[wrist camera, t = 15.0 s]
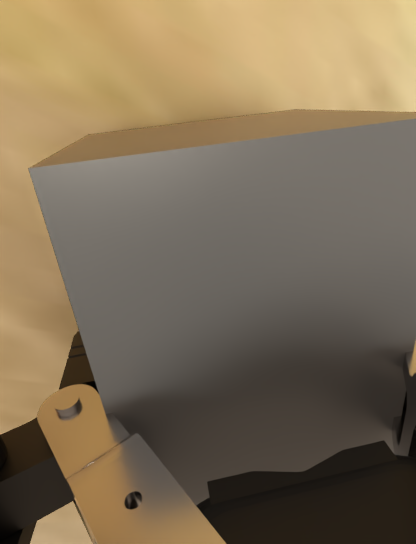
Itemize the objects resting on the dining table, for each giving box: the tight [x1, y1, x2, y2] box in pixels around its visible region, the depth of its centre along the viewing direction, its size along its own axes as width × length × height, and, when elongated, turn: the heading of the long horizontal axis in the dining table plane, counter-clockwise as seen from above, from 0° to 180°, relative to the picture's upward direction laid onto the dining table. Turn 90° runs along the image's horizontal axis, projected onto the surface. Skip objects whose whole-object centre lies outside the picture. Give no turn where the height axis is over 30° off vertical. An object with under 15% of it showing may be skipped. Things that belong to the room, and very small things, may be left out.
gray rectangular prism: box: [28, 109, 416, 505], centre depth 11 cm, size 12×7×7 cm, turn 6°
